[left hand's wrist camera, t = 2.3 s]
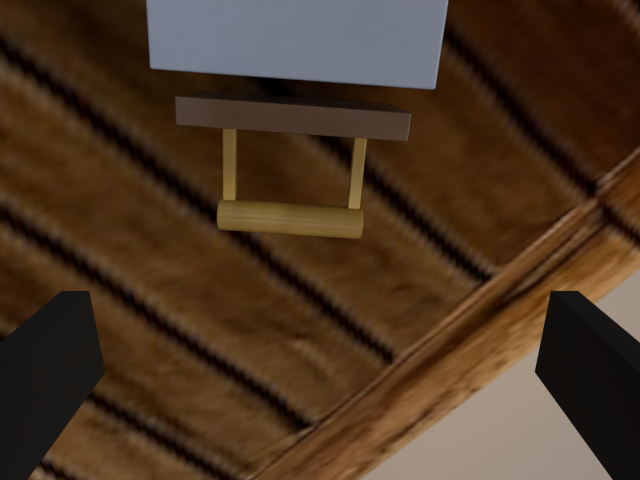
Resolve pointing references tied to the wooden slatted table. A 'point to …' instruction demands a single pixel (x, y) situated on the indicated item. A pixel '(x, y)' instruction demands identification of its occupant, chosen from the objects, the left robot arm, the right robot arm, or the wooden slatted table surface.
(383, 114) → the drawer
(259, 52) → the cabinet
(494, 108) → the wooden slatted table surface
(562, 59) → the wooden slatted table surface
